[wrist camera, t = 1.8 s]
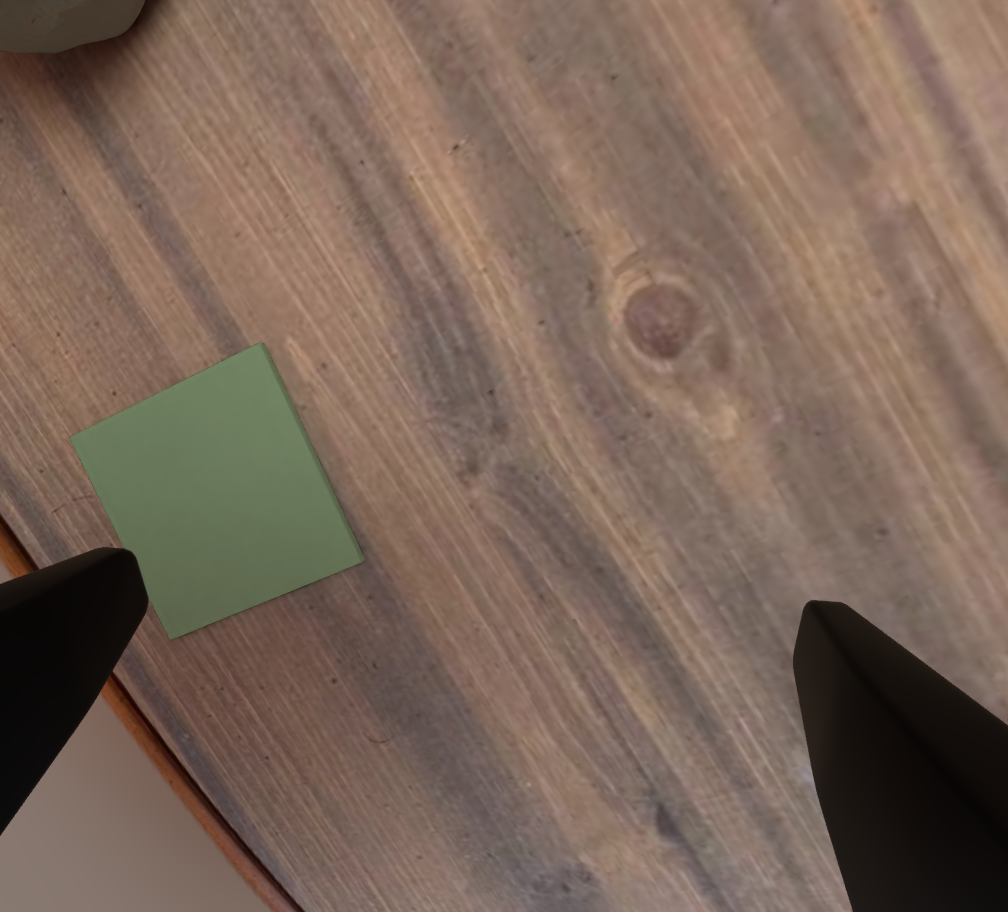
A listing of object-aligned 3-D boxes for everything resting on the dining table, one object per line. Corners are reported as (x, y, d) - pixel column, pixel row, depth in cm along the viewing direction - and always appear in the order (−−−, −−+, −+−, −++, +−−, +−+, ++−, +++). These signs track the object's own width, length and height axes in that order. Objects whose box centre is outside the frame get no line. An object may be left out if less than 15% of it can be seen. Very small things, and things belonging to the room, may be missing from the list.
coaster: (365, 559, 23) (361, 563, 22) (176, 636, 24) (169, 640, 24) (264, 342, 22) (258, 342, 22) (77, 436, 23) (67, 437, 23)
